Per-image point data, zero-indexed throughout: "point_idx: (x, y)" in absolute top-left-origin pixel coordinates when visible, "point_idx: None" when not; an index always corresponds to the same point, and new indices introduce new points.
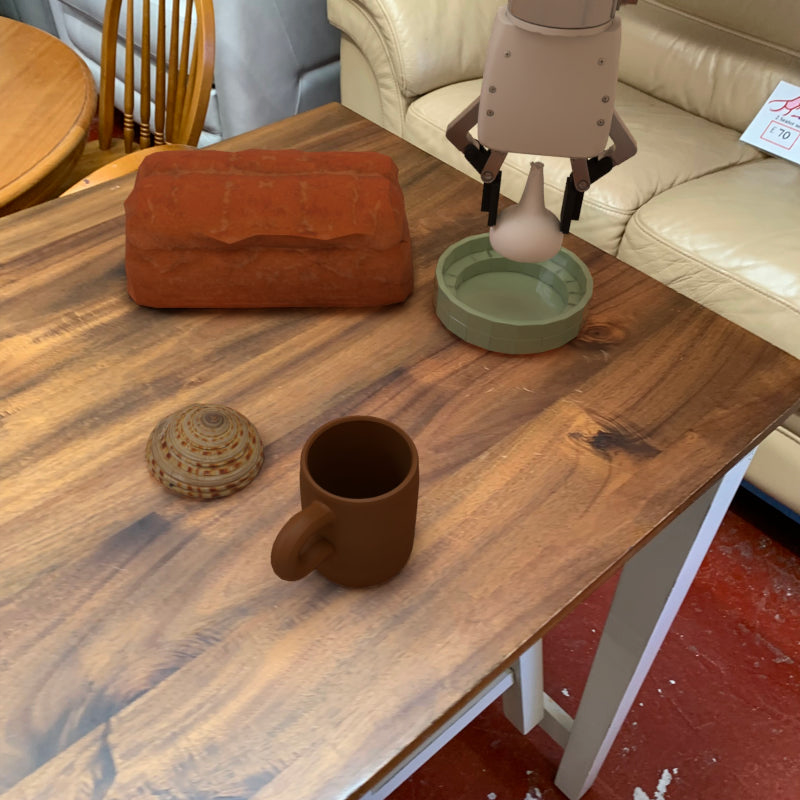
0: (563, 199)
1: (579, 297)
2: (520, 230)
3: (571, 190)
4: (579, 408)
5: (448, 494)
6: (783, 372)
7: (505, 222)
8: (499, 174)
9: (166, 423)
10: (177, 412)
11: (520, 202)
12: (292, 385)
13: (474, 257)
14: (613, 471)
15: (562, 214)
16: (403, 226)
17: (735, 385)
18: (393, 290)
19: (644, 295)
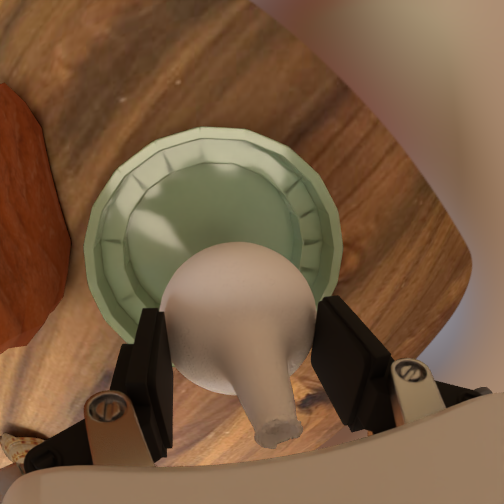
0: (335, 335)
1: (316, 250)
2: (229, 394)
3: (356, 425)
4: (293, 378)
5: (191, 459)
6: (466, 277)
7: (193, 379)
8: (153, 409)
9: (8, 455)
10: (4, 445)
11: (224, 375)
12: (35, 397)
13: (142, 180)
14: (311, 420)
15: (323, 361)
16: (6, 293)
17: (431, 306)
18: (51, 310)
19: (393, 176)
